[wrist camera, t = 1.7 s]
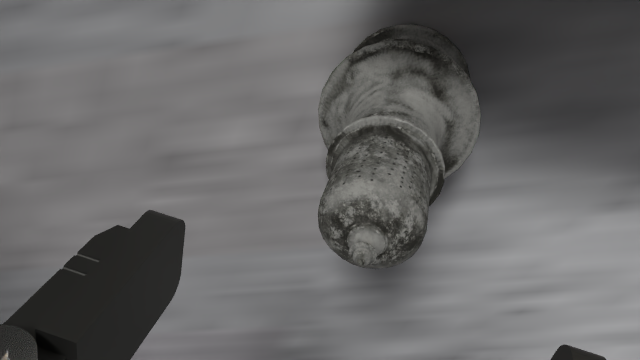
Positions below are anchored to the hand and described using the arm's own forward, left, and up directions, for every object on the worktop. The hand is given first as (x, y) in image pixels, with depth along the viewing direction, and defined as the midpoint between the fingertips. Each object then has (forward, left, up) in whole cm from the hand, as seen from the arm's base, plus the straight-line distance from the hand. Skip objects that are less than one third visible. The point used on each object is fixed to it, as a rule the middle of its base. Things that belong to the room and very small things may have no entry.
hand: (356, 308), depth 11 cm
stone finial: (0, 0, -14) cm, 14 cm away
